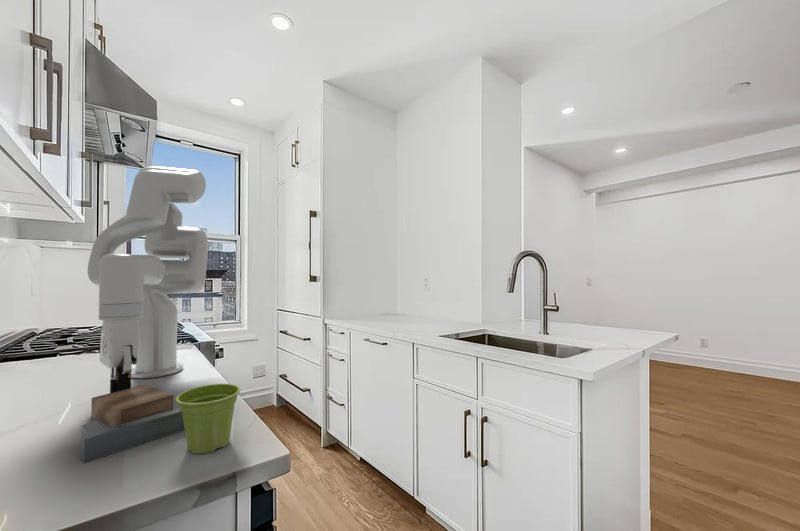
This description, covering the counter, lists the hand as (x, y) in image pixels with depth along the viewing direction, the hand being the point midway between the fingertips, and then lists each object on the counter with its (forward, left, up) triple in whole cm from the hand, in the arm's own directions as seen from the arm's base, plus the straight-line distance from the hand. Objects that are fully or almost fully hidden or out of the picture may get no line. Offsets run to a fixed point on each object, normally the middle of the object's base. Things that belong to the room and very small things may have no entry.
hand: (120, 396), depth 75 cm
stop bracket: (+20, 0, -2) cm, 20 cm away
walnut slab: (+8, 0, -2) cm, 8 cm away
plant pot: (+33, +4, -2) cm, 33 cm away
